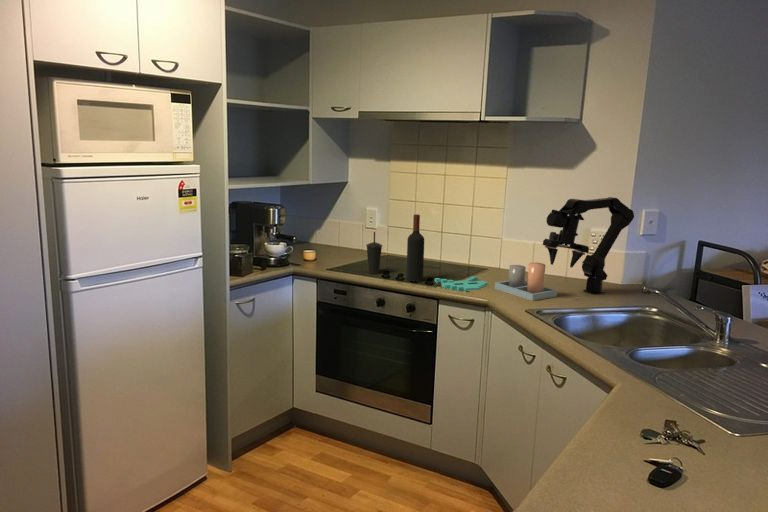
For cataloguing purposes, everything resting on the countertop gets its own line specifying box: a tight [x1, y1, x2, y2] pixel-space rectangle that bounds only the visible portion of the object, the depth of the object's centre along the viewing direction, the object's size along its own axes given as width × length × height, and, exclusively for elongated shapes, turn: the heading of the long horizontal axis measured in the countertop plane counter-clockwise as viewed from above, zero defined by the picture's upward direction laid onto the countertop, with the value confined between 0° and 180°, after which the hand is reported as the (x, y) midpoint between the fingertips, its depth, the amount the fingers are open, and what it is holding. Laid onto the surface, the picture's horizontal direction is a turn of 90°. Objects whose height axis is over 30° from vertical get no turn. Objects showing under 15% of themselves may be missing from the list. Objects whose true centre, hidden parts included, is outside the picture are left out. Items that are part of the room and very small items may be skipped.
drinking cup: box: [366, 231, 383, 275], centre depth 280 cm, size 8×8×20 cm
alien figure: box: [434, 276, 489, 293], centre depth 261 cm, size 20×2×20 cm
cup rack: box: [494, 280, 558, 301], centre depth 249 cm, size 14×22×4 cm, turn 32°
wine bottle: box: [405, 214, 425, 283], centre depth 267 cm, size 8×8×30 cm
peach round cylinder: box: [527, 262, 546, 294], centre depth 243 cm, size 7×7×13 cm
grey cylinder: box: [508, 264, 526, 288], centre depth 252 cm, size 7×7×10 cm
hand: (561, 266), depth 248 cm, fingers open, 9 cm apart
